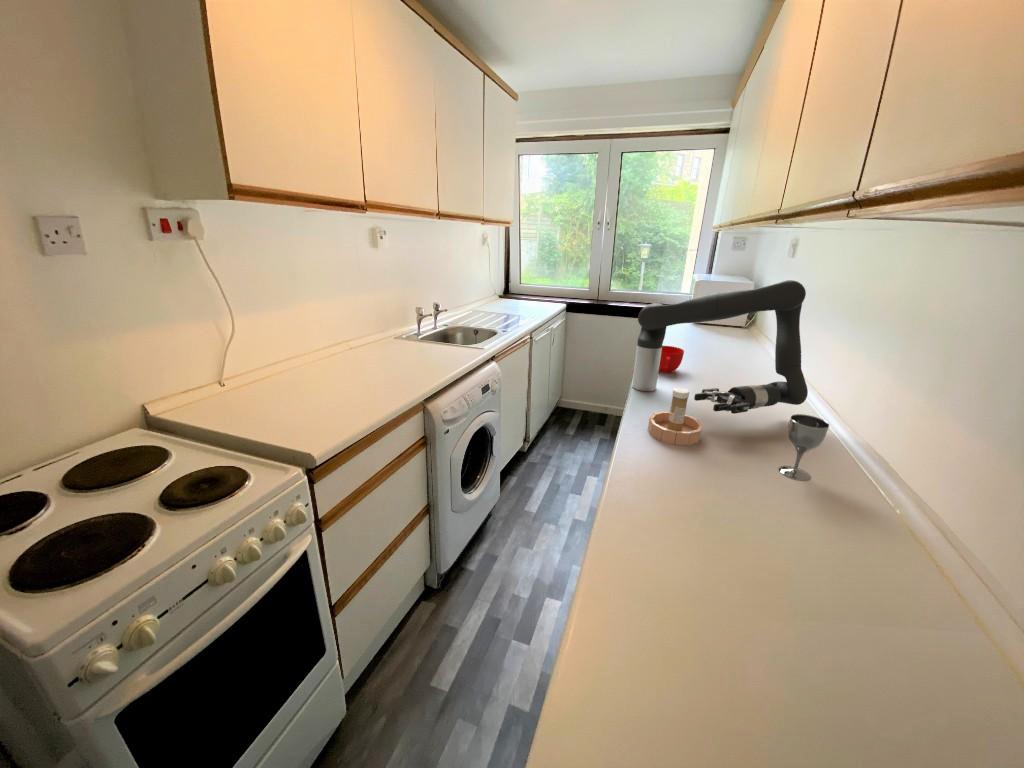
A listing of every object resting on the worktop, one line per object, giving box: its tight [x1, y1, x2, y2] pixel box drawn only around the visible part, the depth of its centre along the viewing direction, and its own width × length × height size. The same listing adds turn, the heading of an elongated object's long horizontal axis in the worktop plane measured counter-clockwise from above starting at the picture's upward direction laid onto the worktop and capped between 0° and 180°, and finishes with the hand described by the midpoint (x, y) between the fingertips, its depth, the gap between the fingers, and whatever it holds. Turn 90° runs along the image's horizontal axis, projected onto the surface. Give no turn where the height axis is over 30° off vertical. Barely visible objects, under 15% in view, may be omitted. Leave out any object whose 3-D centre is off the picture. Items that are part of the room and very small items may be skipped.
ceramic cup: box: [658, 345, 685, 374], centre depth 182 cm, size 13×17×10 cm
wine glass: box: [778, 413, 830, 482], centre depth 105 cm, size 8×8×15 cm
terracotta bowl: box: [647, 411, 704, 446], centre depth 127 cm, size 15×15×4 cm
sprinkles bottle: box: [667, 387, 690, 431], centre depth 126 cm, size 5×5×14 cm
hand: (704, 402), depth 127 cm, fingers open, 8 cm apart
